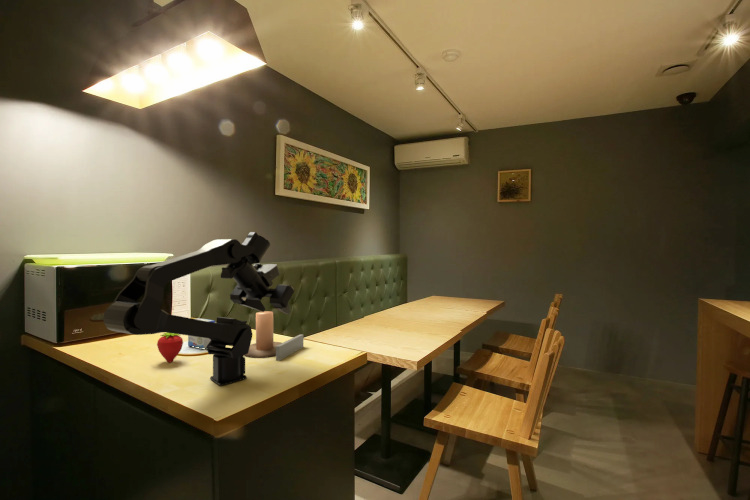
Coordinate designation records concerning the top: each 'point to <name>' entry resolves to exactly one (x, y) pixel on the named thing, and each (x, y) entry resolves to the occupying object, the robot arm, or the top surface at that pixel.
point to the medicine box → (199, 338)
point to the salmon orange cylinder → (264, 330)
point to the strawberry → (169, 346)
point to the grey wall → (289, 347)
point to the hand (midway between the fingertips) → (276, 311)
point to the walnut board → (261, 351)
